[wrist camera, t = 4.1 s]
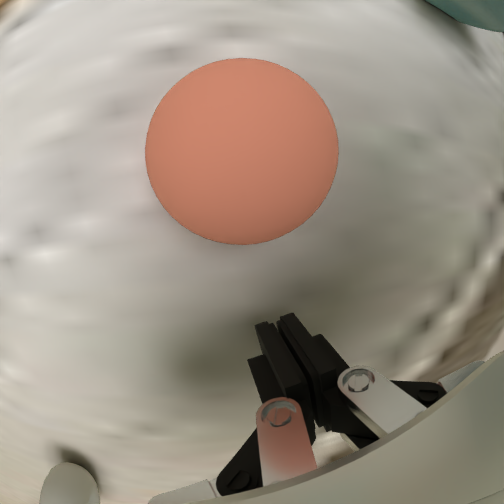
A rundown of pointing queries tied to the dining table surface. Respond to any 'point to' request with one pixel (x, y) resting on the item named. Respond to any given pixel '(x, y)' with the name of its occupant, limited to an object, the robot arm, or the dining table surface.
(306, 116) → the ball
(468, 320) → the dining table surface
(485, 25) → the flower pot
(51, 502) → the donut
